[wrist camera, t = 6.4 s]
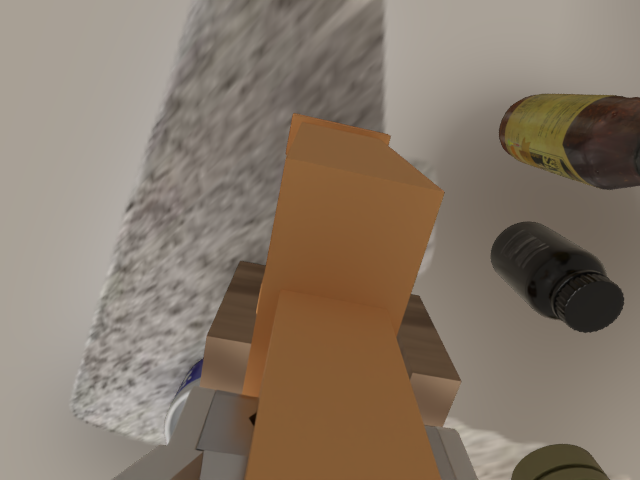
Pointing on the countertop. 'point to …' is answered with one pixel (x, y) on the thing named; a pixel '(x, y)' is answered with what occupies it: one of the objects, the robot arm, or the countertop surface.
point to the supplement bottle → (556, 277)
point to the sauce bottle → (577, 137)
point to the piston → (559, 464)
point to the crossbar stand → (413, 337)
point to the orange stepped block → (340, 312)
